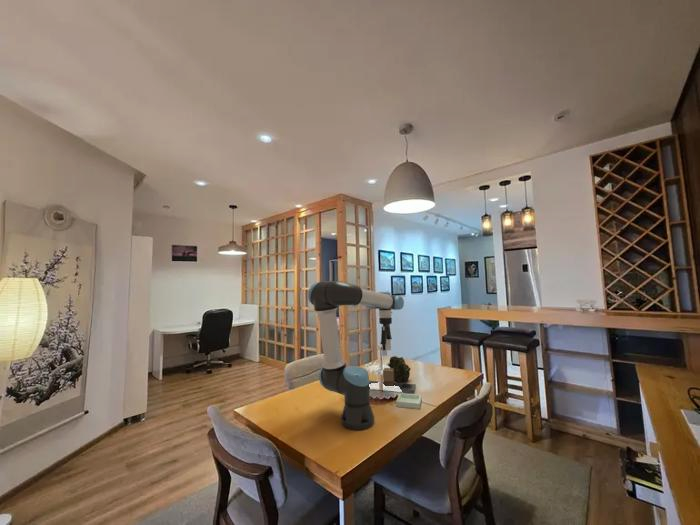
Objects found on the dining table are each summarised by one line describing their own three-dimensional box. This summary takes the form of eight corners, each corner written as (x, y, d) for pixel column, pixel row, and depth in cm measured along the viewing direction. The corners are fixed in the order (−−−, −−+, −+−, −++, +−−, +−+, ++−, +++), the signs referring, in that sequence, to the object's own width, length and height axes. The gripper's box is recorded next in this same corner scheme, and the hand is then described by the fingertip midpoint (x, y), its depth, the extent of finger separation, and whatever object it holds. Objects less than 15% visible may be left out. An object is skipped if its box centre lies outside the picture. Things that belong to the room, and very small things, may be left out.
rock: (387, 380, 183) (388, 356, 186) (395, 379, 189) (396, 355, 192) (403, 384, 174) (404, 358, 177) (411, 382, 180) (412, 357, 184)
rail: (413, 394, 159) (413, 390, 159) (362, 389, 169) (362, 385, 169) (415, 387, 168) (415, 384, 169) (367, 383, 178) (366, 380, 178)
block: (392, 390, 165) (392, 371, 166) (383, 389, 167) (382, 370, 168) (394, 387, 170) (393, 368, 171) (385, 386, 172) (384, 367, 173)
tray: (419, 409, 140) (419, 403, 140) (396, 406, 143) (396, 401, 144) (421, 400, 151) (421, 394, 151) (399, 397, 154) (399, 392, 155)
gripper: (387, 319, 159) (389, 358, 157) (394, 314, 183) (396, 348, 181) (374, 319, 161) (376, 357, 160) (383, 314, 185) (384, 347, 183)
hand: (386, 352), depth 170 cm, fingers open, 13 cm apart
